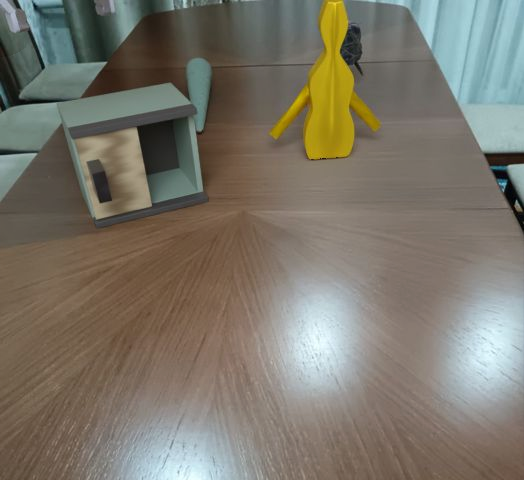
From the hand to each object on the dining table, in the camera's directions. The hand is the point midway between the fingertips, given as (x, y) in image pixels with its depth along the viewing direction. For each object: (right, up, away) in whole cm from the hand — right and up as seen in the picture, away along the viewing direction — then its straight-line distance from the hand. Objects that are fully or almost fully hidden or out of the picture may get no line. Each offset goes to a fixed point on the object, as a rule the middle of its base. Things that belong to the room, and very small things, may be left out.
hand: (64, 22), depth 59 cm
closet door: (+2, -16, +18) cm, 24 cm away
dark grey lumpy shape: (+35, +18, +55) cm, 68 cm away
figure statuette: (+31, -3, +32) cm, 45 cm away
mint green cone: (+8, +13, +51) cm, 53 cm away
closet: (+3, -11, +25) cm, 28 cm away
